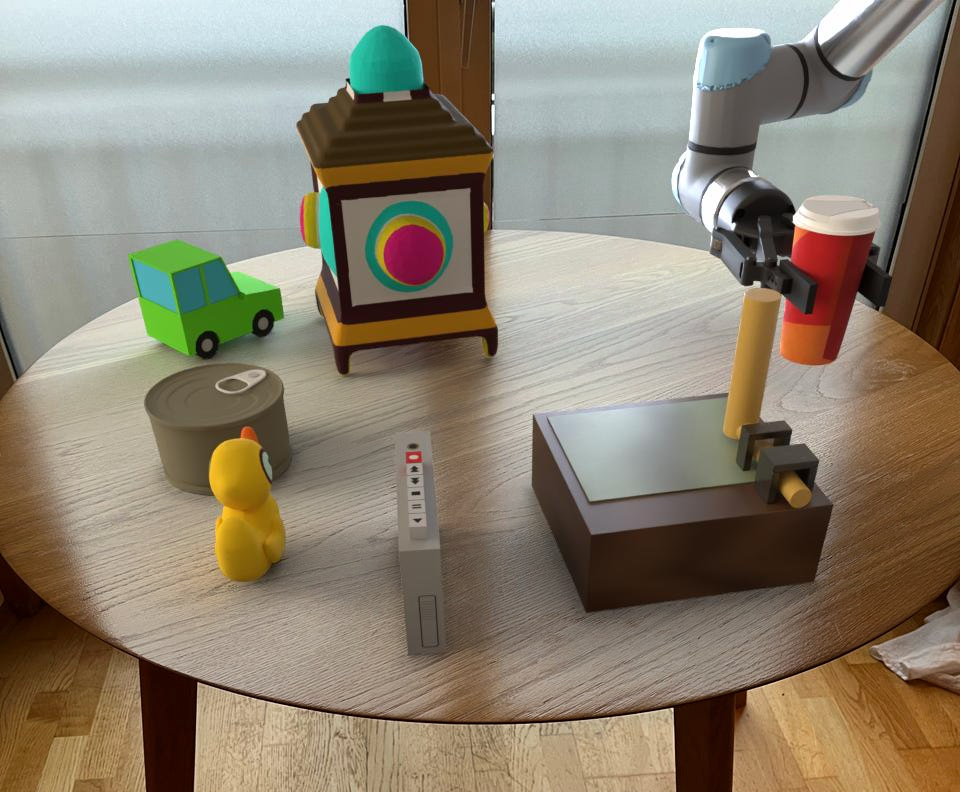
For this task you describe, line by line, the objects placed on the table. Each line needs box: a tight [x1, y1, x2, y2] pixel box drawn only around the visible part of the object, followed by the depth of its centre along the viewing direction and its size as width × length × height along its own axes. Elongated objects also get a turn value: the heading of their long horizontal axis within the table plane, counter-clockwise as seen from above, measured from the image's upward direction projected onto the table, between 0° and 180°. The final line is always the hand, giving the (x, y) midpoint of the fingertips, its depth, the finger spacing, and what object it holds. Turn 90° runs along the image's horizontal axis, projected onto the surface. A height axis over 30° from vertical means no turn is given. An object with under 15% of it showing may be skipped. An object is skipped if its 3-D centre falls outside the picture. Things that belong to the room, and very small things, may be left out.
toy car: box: [127, 238, 285, 360], centre depth 109 cm, size 10×13×10 cm
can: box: [143, 362, 293, 496], centre depth 89 cm, size 12×12×7 cm
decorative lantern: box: [295, 24, 499, 377], centre depth 101 cm, size 20×20×30 cm
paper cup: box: [779, 194, 882, 367], centre depth 94 cm, size 8×8×14 cm
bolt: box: [723, 287, 812, 508], centre depth 71 cm, size 3×12×11 cm, turn 11°
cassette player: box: [394, 430, 447, 656], centre depth 73 cm, size 16×3×10 cm, turn 5°
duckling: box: [209, 427, 287, 583], centre depth 76 cm, size 11×5×10 cm, turn 1°
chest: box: [531, 392, 835, 614], centre depth 78 cm, size 18×18×10 cm
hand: (848, 295), depth 89 cm, fingers closed on paper cup, 6 cm apart
